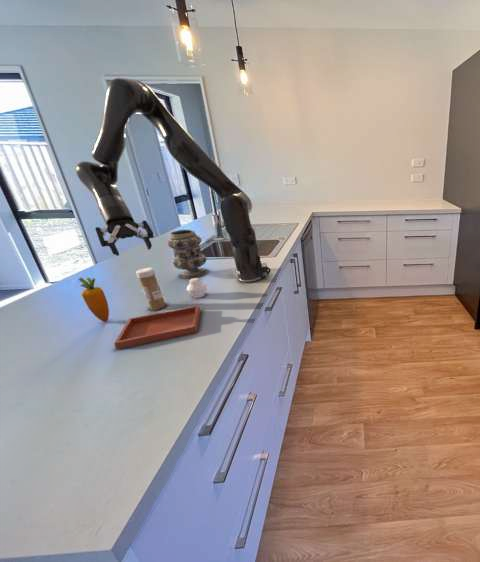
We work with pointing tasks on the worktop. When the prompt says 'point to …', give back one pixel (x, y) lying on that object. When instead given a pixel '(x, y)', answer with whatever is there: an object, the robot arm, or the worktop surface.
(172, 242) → the ornate carved vase
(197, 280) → the white rounded lump
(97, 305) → the carrot
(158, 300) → the sprinkles bottle
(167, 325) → the tray
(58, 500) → the worktop surface
